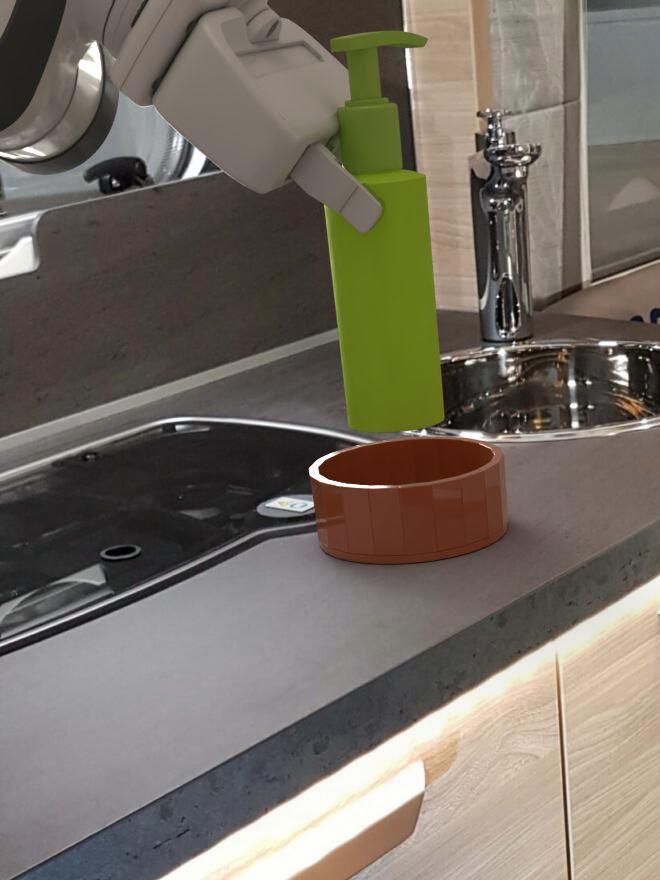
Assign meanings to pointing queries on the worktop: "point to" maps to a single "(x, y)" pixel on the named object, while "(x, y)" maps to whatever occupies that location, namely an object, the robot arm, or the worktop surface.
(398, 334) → the soap dispenser
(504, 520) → the bowl
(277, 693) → the worktop surface
